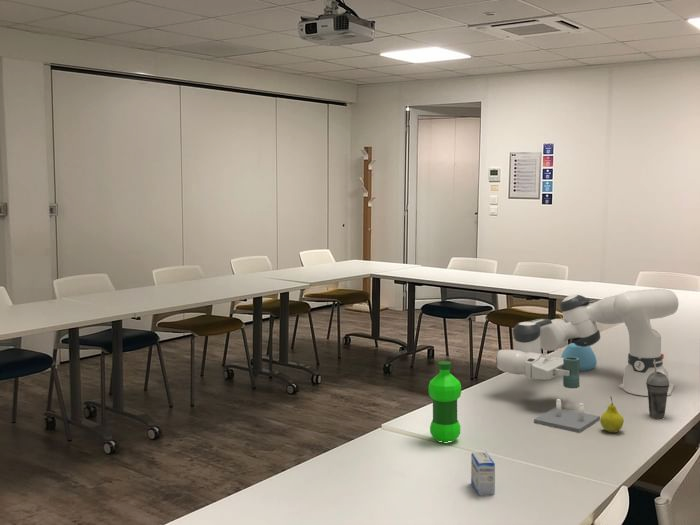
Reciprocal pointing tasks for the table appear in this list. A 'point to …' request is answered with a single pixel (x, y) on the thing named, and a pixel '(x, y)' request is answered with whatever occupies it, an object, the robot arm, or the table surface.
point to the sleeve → (573, 366)
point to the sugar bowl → (581, 356)
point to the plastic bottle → (445, 404)
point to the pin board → (567, 418)
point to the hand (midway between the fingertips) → (573, 371)
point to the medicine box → (483, 473)
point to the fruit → (612, 419)
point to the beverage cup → (657, 393)
